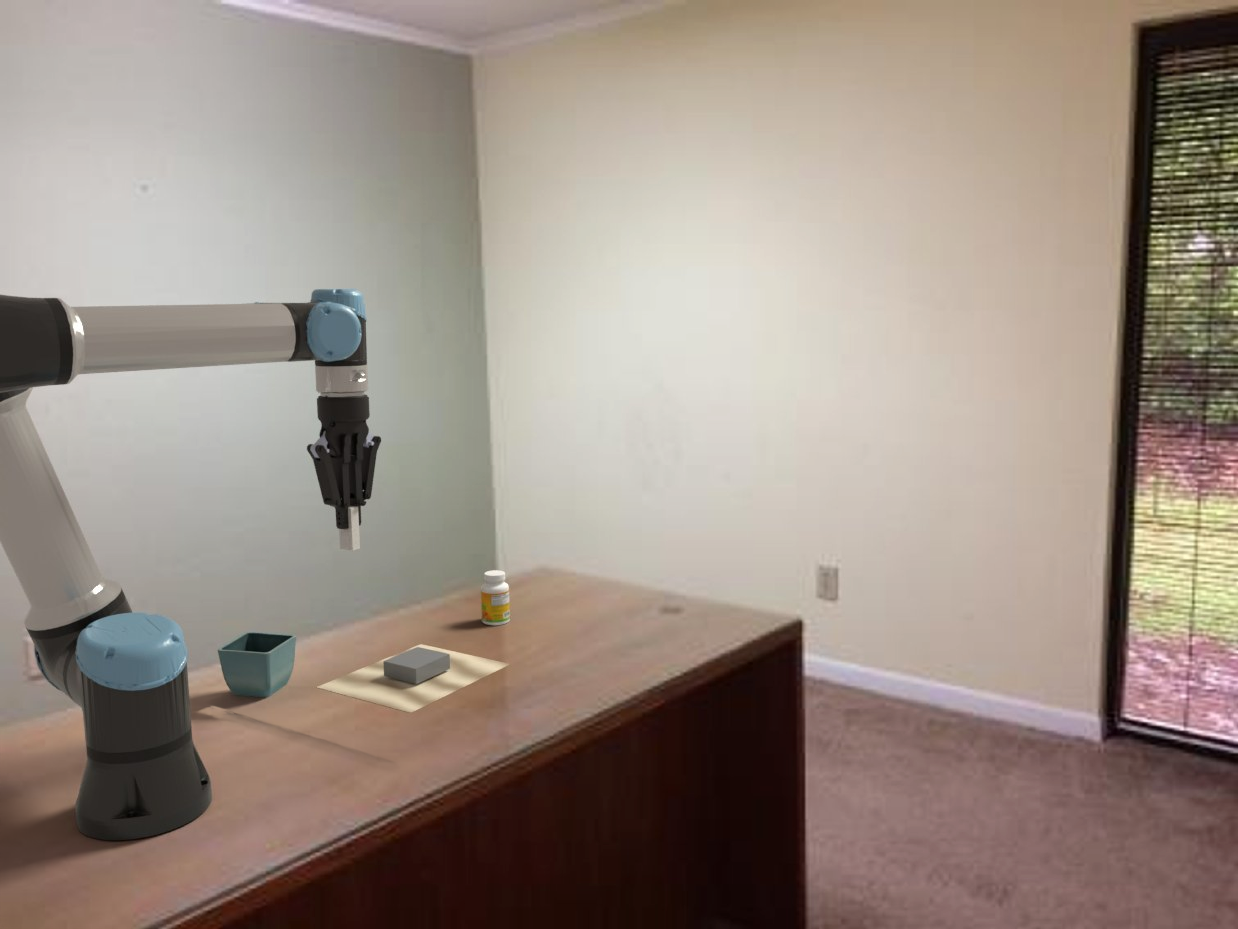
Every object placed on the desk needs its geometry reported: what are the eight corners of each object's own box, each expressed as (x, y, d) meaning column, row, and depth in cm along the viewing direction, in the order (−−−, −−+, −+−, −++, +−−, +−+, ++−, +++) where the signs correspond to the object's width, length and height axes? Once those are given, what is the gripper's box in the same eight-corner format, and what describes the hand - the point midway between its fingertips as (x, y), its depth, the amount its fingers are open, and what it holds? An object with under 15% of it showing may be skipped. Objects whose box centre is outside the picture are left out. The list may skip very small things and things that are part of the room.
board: (410, 720, 153) (410, 712, 153) (316, 694, 163) (316, 687, 163) (510, 670, 173) (510, 664, 173) (420, 650, 184) (420, 644, 183)
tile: (415, 668, 163) (449, 654, 169) (383, 661, 166) (417, 646, 173) (416, 686, 163) (450, 671, 170) (384, 678, 167) (418, 663, 174)
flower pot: (272, 709, 158) (268, 652, 156) (219, 705, 160) (215, 649, 158) (300, 688, 166) (297, 634, 165) (250, 684, 168) (247, 631, 167)
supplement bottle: (479, 619, 202) (478, 570, 200) (506, 616, 203) (505, 568, 202) (484, 627, 196) (483, 577, 195) (512, 624, 198) (511, 575, 197)
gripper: (326, 398, 146) (334, 560, 150) (392, 391, 157) (398, 542, 161) (290, 396, 150) (299, 554, 154) (357, 389, 161) (363, 537, 165)
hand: (350, 548), depth 157 cm, fingers closed
